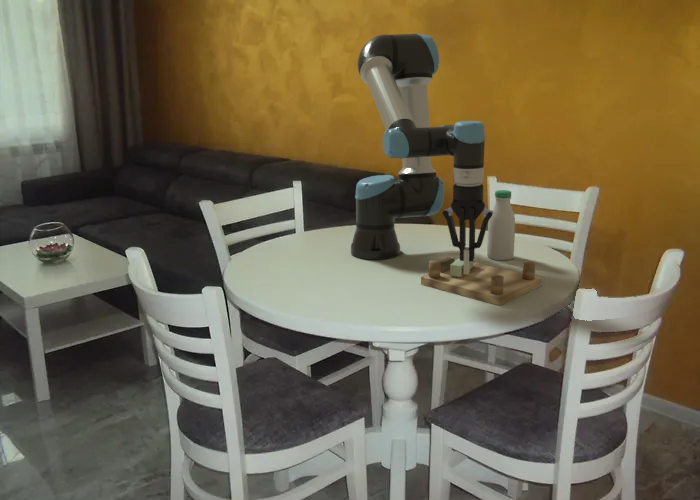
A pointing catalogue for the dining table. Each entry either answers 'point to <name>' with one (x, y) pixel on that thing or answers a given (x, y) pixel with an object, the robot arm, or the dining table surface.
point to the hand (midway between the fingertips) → (466, 272)
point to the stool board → (482, 281)
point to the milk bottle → (501, 228)
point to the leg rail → (458, 268)
